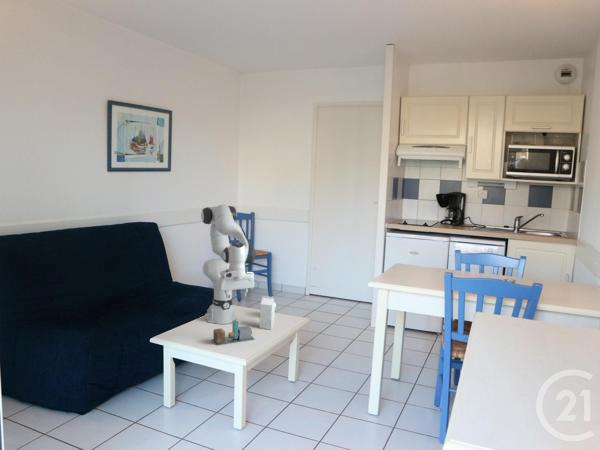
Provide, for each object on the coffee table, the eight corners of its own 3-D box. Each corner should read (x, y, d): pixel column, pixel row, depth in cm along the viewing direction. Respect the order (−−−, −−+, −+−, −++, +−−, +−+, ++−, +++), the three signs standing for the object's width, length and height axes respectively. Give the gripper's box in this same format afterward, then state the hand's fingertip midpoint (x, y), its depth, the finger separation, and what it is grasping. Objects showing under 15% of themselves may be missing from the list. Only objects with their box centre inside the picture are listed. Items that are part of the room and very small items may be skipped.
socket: (221, 339, 265) (221, 328, 264) (225, 343, 260) (225, 331, 259) (213, 340, 263) (213, 329, 262) (217, 344, 257) (217, 332, 257)
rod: (249, 334, 272) (250, 318, 271) (252, 336, 269) (252, 320, 268) (227, 337, 265) (228, 321, 264) (230, 339, 262) (230, 323, 261)
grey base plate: (248, 335, 274) (249, 324, 273) (254, 339, 267) (254, 329, 267) (211, 340, 263) (212, 329, 262) (216, 345, 256) (217, 334, 256)
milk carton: (271, 329, 285) (272, 298, 282) (259, 328, 286) (260, 297, 284) (274, 326, 291) (275, 295, 289) (262, 324, 293) (263, 294, 291)
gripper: (252, 270, 269) (251, 294, 271) (217, 272, 259) (216, 297, 261) (256, 272, 264) (255, 296, 265) (221, 275, 254) (220, 300, 255)
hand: (236, 297), depth 263 cm, fingers open, 8 cm apart
